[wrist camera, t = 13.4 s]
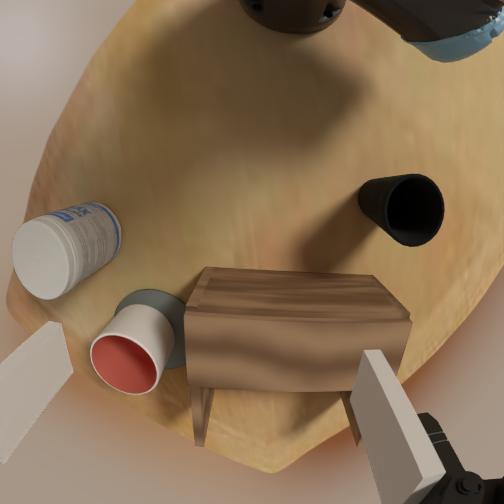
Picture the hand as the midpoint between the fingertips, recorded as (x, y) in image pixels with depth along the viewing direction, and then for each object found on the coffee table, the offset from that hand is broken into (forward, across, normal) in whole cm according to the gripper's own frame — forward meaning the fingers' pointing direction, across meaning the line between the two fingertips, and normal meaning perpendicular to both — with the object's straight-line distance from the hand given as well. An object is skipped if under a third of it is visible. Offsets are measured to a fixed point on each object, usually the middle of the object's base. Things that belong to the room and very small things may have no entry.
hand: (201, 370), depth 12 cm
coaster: (+31, -13, -17) cm, 38 cm away
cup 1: (+30, -14, -17) cm, 38 cm away
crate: (+31, +7, -17) cm, 36 cm away
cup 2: (+31, +18, +5) cm, 37 cm away
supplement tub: (+31, -22, -2) cm, 38 cm away
